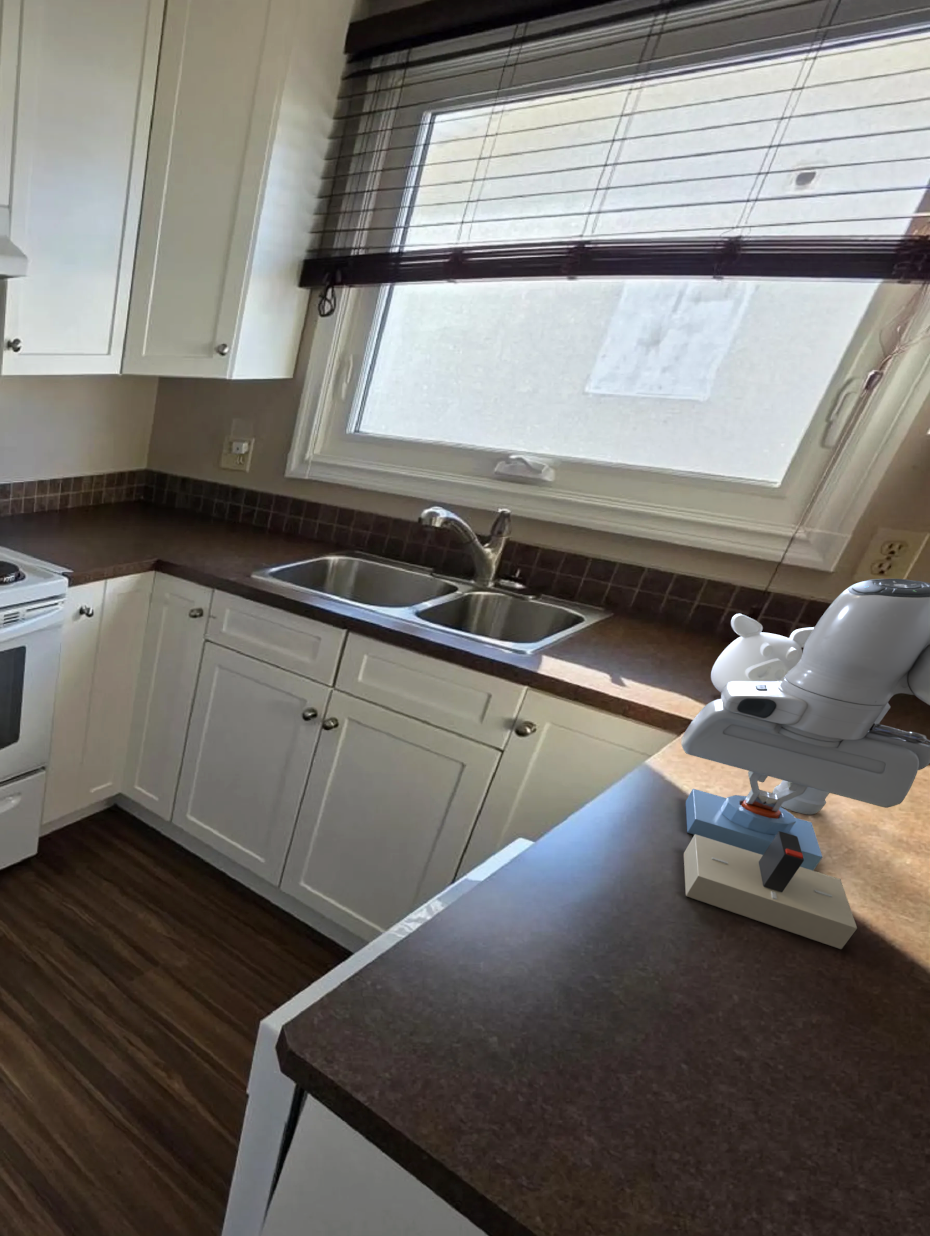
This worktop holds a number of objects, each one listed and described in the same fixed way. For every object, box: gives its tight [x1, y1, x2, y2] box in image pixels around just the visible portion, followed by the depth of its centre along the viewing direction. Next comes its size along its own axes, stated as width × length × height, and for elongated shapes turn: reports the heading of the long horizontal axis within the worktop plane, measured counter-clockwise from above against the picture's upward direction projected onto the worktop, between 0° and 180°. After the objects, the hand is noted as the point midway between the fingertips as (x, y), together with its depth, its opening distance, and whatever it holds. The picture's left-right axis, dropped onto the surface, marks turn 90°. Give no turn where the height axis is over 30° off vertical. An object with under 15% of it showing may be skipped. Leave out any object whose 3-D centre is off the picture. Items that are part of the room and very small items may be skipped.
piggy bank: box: [710, 613, 815, 694], centre depth 140 cm, size 12×12×15 cm
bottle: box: [771, 702, 891, 815], centre depth 106 cm, size 5×5×25 cm
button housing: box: [685, 788, 823, 871], centre depth 104 cm, size 12×10×4 cm
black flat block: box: [759, 831, 804, 892], centre depth 90 cm, size 6×2×5 cm, turn 141°
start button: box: [741, 800, 781, 819], centre depth 103 cm, size 4×4×2 cm
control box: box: [683, 834, 858, 950], centre depth 92 cm, size 13×11×3 cm
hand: (760, 805), depth 103 cm, fingers closed, pressing on start button
